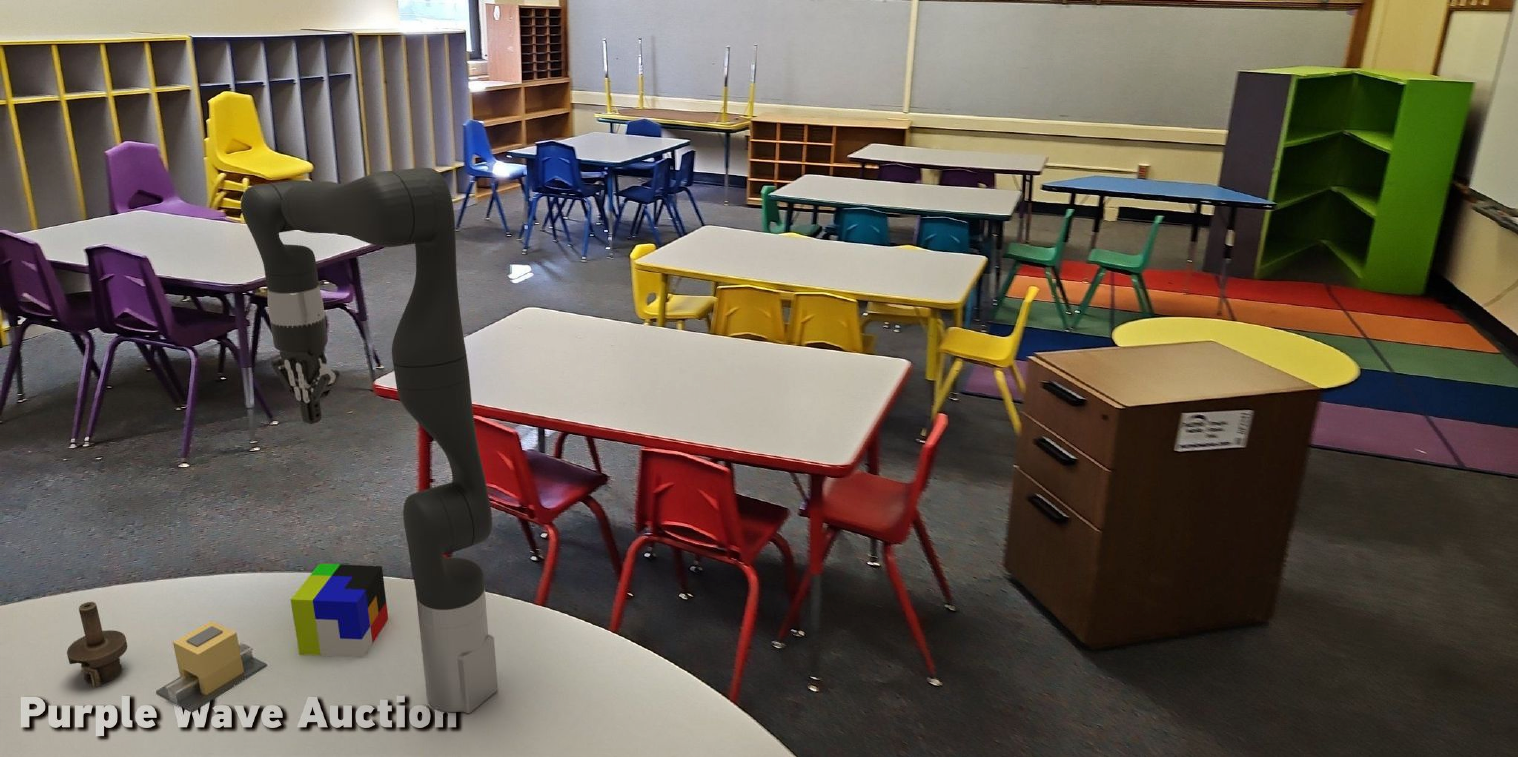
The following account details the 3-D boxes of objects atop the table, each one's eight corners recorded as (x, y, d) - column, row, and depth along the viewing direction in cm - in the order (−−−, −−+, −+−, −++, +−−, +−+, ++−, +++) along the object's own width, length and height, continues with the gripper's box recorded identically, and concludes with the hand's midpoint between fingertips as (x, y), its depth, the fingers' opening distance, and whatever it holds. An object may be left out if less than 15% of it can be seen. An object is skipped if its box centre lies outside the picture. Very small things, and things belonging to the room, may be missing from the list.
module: (243, 672, 148) (236, 630, 145) (206, 695, 143) (197, 652, 140) (219, 660, 150) (211, 619, 147) (181, 682, 145) (172, 640, 142)
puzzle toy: (364, 657, 153) (356, 602, 149) (299, 654, 153) (290, 599, 149) (388, 619, 162) (382, 566, 158) (327, 616, 162) (319, 563, 158)
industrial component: (102, 696, 142) (84, 625, 138) (60, 686, 144) (41, 616, 140) (153, 656, 151) (138, 589, 147) (114, 648, 152) (98, 581, 148)
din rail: (266, 665, 150) (264, 653, 149) (191, 712, 140) (189, 699, 139) (231, 649, 153) (229, 637, 152) (156, 693, 143) (153, 680, 143)
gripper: (348, 317, 150) (361, 422, 156) (288, 302, 155) (303, 405, 162) (306, 330, 144) (321, 439, 150) (245, 314, 149) (262, 420, 155)
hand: (312, 421), depth 156 cm, fingers closed
